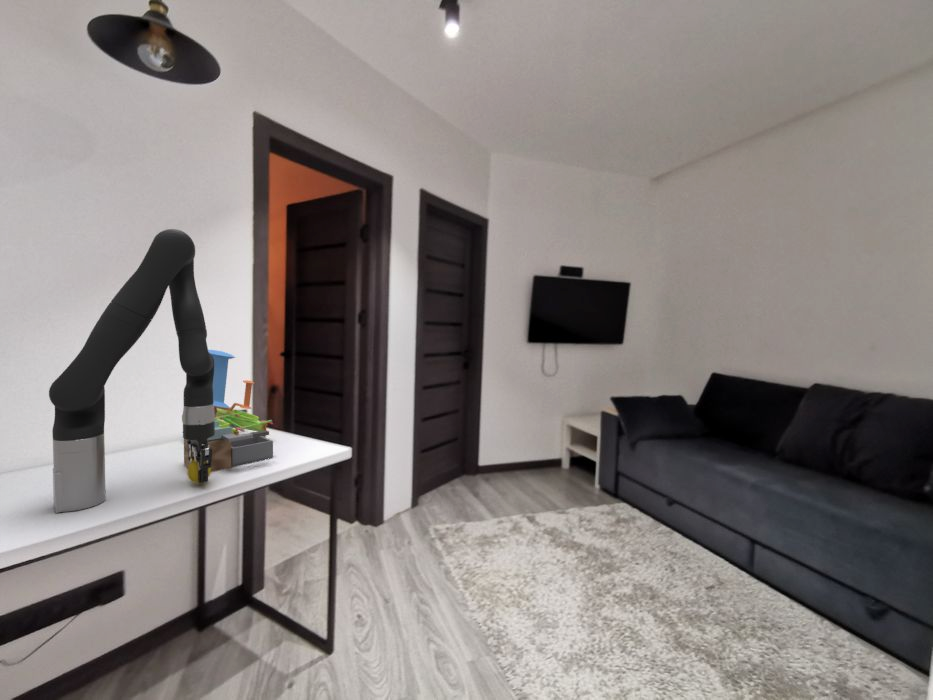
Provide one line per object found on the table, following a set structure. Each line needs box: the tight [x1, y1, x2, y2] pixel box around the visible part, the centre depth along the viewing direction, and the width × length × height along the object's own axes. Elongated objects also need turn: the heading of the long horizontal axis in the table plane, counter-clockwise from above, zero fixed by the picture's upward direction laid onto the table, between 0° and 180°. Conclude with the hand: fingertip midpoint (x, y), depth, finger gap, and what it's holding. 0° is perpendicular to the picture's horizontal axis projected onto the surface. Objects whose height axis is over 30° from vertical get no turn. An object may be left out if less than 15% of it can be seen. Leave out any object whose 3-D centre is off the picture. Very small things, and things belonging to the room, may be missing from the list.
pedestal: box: [183, 438, 232, 473], centre depth 129 cm, size 10×13×10 cm
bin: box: [231, 436, 274, 468], centre depth 138 cm, size 13×13×6 cm
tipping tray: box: [207, 421, 270, 442], centre depth 130 cm, size 19×19×3 cm
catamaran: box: [181, 349, 274, 438], centre depth 156 cm, size 18×32×35 cm, turn 70°
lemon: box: [187, 457, 212, 485], centre depth 115 cm, size 6×6×8 cm
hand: (199, 478), depth 115 cm, fingers closed on lemon, 5 cm apart
